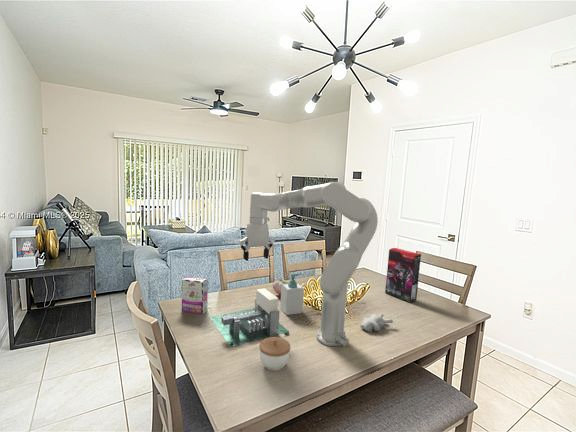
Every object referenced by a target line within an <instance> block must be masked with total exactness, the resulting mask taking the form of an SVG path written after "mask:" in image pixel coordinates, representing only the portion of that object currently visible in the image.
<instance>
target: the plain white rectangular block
mask: <svg viewBox="0 0 576 432" xmlns="http://www.w3.org/2000/svg"><path fill="white" fill-rule="evenodd" d="M255 291H256V294H255V295H256V296H255V299H256V303H257V304H258V305H259V306H260V307H262V308H263V309H264V310H265V311H266V312H267V313H268V314H270V312H272V311H277V310H279V308H278V307H279V298H278V297H277V296H276V295H274V294H273V293H272V292H270V291H269V290H267V288H258V289H256V290H255Z"/></svg>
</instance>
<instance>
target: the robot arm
mask: <svg viewBox="0 0 576 432" xmlns="http://www.w3.org/2000/svg"><path fill="white" fill-rule="evenodd" d="M249 204H250V205H249V206H250V208H249V222H247V224H246V228H245V232H244V233H245V234H244V238H242V239H240V240H239V241H237V243H238V245H239V247H240V248H241V250H243V256H242V257H243V258H242V259H243V260H245V261H249V256H250V255H249V253H250V252H249V250H250V249H251V248H257V247H258V248H261V247H264V249H263V256H262V257H263V258H264V259H267V260H268V259H269V255H270V251H271V248H272V247H273V245H274V243H275V242H276V240H275V238H273V237H270V230H269V224H268V222H269V221H270V218H269V217H268V212H271V213H272V212H278V211H279V212H280V211H284V210H289V209H295V208H296V209H297V208H314V207H322V206H327V205H328V206H329V207H331V209H333V210H334V211H336V212H338V213H339V214H341V215H342V216H343V217H345V218H347V220H350V221H351V222H354V225H353V226H352V228H351V229H350V232H349V233H348V235H347V236H346V238H345V239H344V241H343V243H341V245H340V246H339V247H338V248H337V250H335V252H334V254H333V255H332V256H331V259H330V260H329V262H328V264H327V266H326V268H325V269H324V270H323V272H322V274H321V275H320V277H319V286H320V287H319V288H320V290H321V291H322V293H323V294H322V303H321V318H320V329H319V330H318V331H317V332H316V336H315V337H316V339H317V341H318V342H320V343H321V344H323V345H325V346H329V347H330V346H331V347H340V346H344V347H345V346H346V345H347V343H348V342H349V340H350V339H349V338H348V336H347V335H346V331H345V318H346V307H347V306H346V305H347V298H348V297H347V294H348V287H349V282H350V279H351V278H352V277H353V275H354V274H355V272H356V270H357V269H358V267H359V264H360V262H361V259H362V257H363V255H364V253H365V252H366V250H367V248H368V246H369V245H370V243H371V241H372V239H373V238H374V235H376V234H375V233H376V231H377V228H378V227H377V226H378V219H379V218H378V214H377V211H376V208H375V206H374V205H373V204H372V202H371V201H370V200H368V199H367V198H363V197H358V196H357V195H355V194H353V192H351V191H350V190H348V189H347V188H346V186H345V185H344V184H343V183H342V182H339V181H330V182H328V183H327V182H326V183H322V184H316V185H310V186H309V185H308V186H304V187H302V188H300V189H296V190H290V191H286V192H284V191H283V192H276V193H266V192H263V191H262V192H260V191H255V192H254V191H253V192H252V193H251V194H250V203H249Z"/></svg>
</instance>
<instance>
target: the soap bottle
mask: <svg viewBox="0 0 576 432" xmlns="http://www.w3.org/2000/svg"><path fill="white" fill-rule="evenodd" d="M288 274H289V275H290V277H291V279H290V280H289V282H288V283H282V284H281V295H280V306H279V308H280V309H281V310H282V312H283V313H284V314H285V315H286V316H289V315H296V314H297V315H298V314H303V313H304V312H303V309H304V293H305V287H303V286H302V285H301V284H300V283H298V282H297V280H296V279H295V278H296V277H297V276H300V275H302V272H294V273H293V272H292V273H288Z"/></svg>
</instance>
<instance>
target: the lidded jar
mask: <svg viewBox="0 0 576 432" xmlns="http://www.w3.org/2000/svg"><path fill="white" fill-rule="evenodd" d="M290 353H291V343H290V342H289V341H288V339H285V338H283V337H278V336H271V337H267V338H264V339H263V340H262V339H261V341H260V343H259V357H260V361H261V364H263V366H265V368H266V370H269V371H273V372H276V371H280V370H282V368H283V367H284V366H286V364H287V363H288V361H289V359H290V356H291V355H290Z"/></svg>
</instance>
